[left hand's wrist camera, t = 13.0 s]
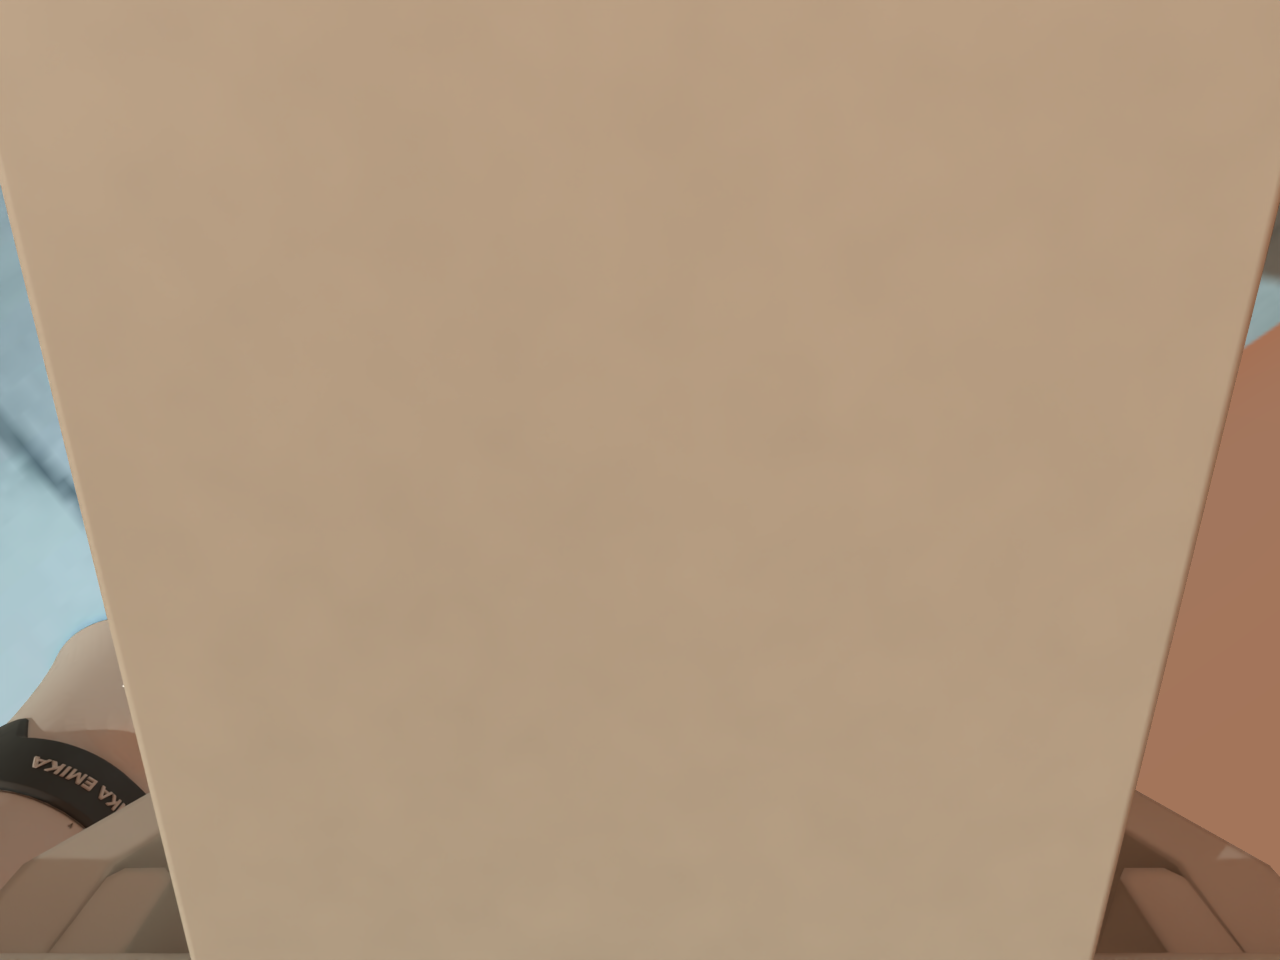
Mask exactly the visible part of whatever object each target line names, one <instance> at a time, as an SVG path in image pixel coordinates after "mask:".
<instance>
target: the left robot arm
mask: <svg viewBox="0 0 1280 960" xmlns="http://www.w3.org/2000/svg"><path fill="white" fill-rule="evenodd" d="M0 960H191V957H190V953H189V949H188V945H187V941H186V937H185V933H184V929H183V924H182V920H181V916H180V912H179V908H178V904H177V900H176V896H175V892H174V888H173V884H172V880H171V876H170V872H169V867H168V863H167V859H166V855H165V851H164V847H163V843H162V839H161V835H160V831H159V827H158V823H157V819H156V815H155V810H154V806H153V802H152V798H151V794H150V790H149V786H148V782H147V778H146V774H145V770H144V766H143V762H142V758H141V753H140V749H139V745H138V741H137V737H136V733H135V729H134V725H133V721H132V717H131V713H130V709H129V705H128V701H127V697H126V692H125V688H124V684H123V680H122V676H121V672H120V668H119V664H118V660H117V656H116V652H115V648H114V644H113V640H112V635H111V631H110V627H109V623H108V619H107V620H103V621H100V622H97V623H94V624H92V625H90V626H88V627H86V628H84V629H82V630H81V631H79V632H78V633H76V634H75V635H74V636H72V637H71V638H70V639H69V640H68V641H67V642H66V643H65V645H64V646H63V647H62V648H61V650H60V651H59V653H58V655H57V657H56V659H55V661H54V663H53V665H52V666H51V668H50V670H49V671H48V673H47V674H46V676H45V677H44V679H43V680H42V682H41V683H40V685H39V686H38V687H37V688H36V690H35V691H34V692H33V693H32V695H31V696H30V697H29V699H28V700H27V701H26V702H25V703H24V705H23V706H22V707H21V708H20V709H19V710H18V712H17V713H16V714H15V715H14V716H13V717H12V718H11V720H10V721H9V722H8V723H7V724H5V725H3V726H1V727H0ZM1094 960H1280V877H1279V876H1278V874H1277V873H1276V872H1275V871H1274V870H1273V869H1272V868H1271V867H1270V866H1269V865H1268V864H1266V863H1264V862H1262V861H1261V860H1259V859H1257V858H1255V857H1253V856H1252V855H1250V854H1248V853H1246V852H1245V851H1243V850H1241V849H1239V848H1237V847H1236V846H1234V845H1232V844H1230V843H1229V842H1227V841H1225V840H1223V839H1221V838H1220V837H1218V836H1216V835H1214V834H1213V833H1211V832H1209V831H1207V830H1205V829H1204V828H1202V827H1200V826H1198V825H1197V824H1195V823H1193V822H1191V821H1189V820H1188V819H1186V818H1184V817H1182V816H1181V815H1179V814H1177V813H1175V812H1173V811H1172V810H1170V809H1168V808H1166V807H1165V806H1163V805H1161V804H1159V803H1158V802H1156V801H1154V800H1152V799H1150V798H1149V797H1147V796H1145V795H1143V794H1142V793H1140V792H1138V791H1136V790H1135V793H1134V797H1133V801H1132V805H1131V809H1130V813H1129V817H1128V821H1127V825H1126V829H1125V833H1124V838H1123V842H1122V846H1121V850H1120V854H1119V858H1118V862H1117V866H1116V870H1115V874H1114V878H1113V882H1112V886H1111V890H1110V894H1109V899H1108V903H1107V907H1106V911H1105V915H1104V919H1103V923H1102V927H1101V931H1100V935H1099V939H1098V943H1097V947H1096V951H1095V956H1094Z"/></svg>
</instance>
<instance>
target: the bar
mask: <svg viewBox="0 0 1280 960" xmlns="http://www.w3.org/2000/svg"><path fill="white" fill-rule="evenodd" d="M0 184H1V188H2V192H3V196H4V200H5V204H6V208H7V212H8V216H9V220H10V224H11V228H12V232H13V237H14V241H15V245H16V249H17V253H18V257H19V261H20V265H21V269H22V273H23V277H24V281H25V285H26V289H27V294H28V298H29V302H30V306H31V310H32V314H33V318H34V322H35V326H36V330H37V334H38V338H39V342H40V346H41V351H42V355H43V359H44V363H45V367H46V371H47V375H48V379H49V383H50V387H51V391H52V395H53V399H54V403H55V408H56V412H57V416H58V420H59V424H60V428H61V432H62V436H63V440H64V444H65V448H66V452H67V456H68V460H69V464H70V469H71V473H72V477H73V481H74V485H75V489H76V493H77V497H78V501H79V505H80V509H81V513H82V517H83V521H84V526H85V530H86V534H87V538H88V542H89V546H90V550H91V554H92V558H93V562H94V566H95V570H96V574H97V578H98V583H99V587H100V591H101V595H102V599H103V603H104V607H105V611H106V615H107V619H108V623H109V627H110V631H111V635H112V640H113V644H114V648H115V652H116V656H117V660H118V664H119V668H120V672H121V676H122V680H123V684H124V688H125V692H126V697H127V701H128V705H129V709H130V713H131V717H132V721H133V725H134V729H135V733H136V737H137V741H138V745H139V749H140V753H141V758H142V762H143V766H144V770H145V774H146V778H147V782H148V786H149V790H150V794H151V798H152V802H153V806H154V810H155V815H156V819H157V823H158V827H159V831H160V835H161V839H162V843H163V847H164V851H165V855H166V859H167V863H168V867H169V872H170V876H171V880H172V884H173V888H174V892H175V896H176V900H177V904H178V908H179V912H180V916H181V920H182V924H183V929H184V933H185V937H186V941H187V945H188V949H189V953H190V957H191V960H1094V956H1095V951H1096V947H1097V943H1098V939H1099V935H1100V931H1101V927H1102V923H1103V919H1104V915H1105V911H1106V907H1107V903H1108V899H1109V894H1110V890H1111V886H1112V882H1113V878H1114V874H1115V870H1116V866H1117V862H1118V858H1119V854H1120V850H1121V846H1122V842H1123V838H1124V833H1125V829H1126V825H1127V821H1128V817H1129V813H1130V809H1131V805H1132V801H1133V797H1134V793H1135V789H1136V785H1137V781H1138V776H1139V772H1140V768H1141V764H1142V760H1143V756H1144V752H1145V748H1146V744H1147V740H1148V736H1149V732H1150V728H1151V723H1152V719H1153V715H1154V711H1155V707H1156V703H1157V699H1158V695H1159V691H1160V687H1161V683H1162V679H1163V675H1164V671H1165V667H1166V662H1167V658H1168V654H1169V650H1170V646H1171V642H1172V638H1173V634H1174V630H1175V626H1176V622H1177V618H1178V614H1179V610H1180V605H1181V601H1182V597H1183V593H1184V589H1185V585H1186V581H1187V577H1188V573H1189V569H1190V565H1191V561H1192V557H1193V553H1194V548H1195V544H1196V540H1197V536H1198V532H1199V528H1200V524H1201V520H1202V516H1203V512H1204V508H1205V504H1206V500H1207V496H1208V492H1209V487H1210V483H1211V479H1212V475H1213V471H1214V467H1215V463H1216V459H1217V455H1218V451H1219V447H1220V443H1221V439H1222V434H1223V430H1224V426H1225V422H1226V418H1227V414H1228V410H1229V406H1230V402H1231V398H1232V394H1233V390H1234V386H1235V382H1236V377H1237V373H1238V369H1239V365H1240V361H1241V357H1242V353H1243V349H1244V345H1245V341H1246V337H1247V333H1248V329H1249V325H1250V321H1251V316H1252V312H1253V308H1254V304H1255V300H1256V296H1257V292H1258V288H1259V284H1260V280H1261V276H1262V272H1263V268H1264V264H1265V259H1266V255H1267V251H1268V247H1269V243H1270V239H1271V235H1272V231H1273V227H1274V223H1275V219H1276V215H1277V211H1278V207H1279V202H1280V0H0Z"/></svg>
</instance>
